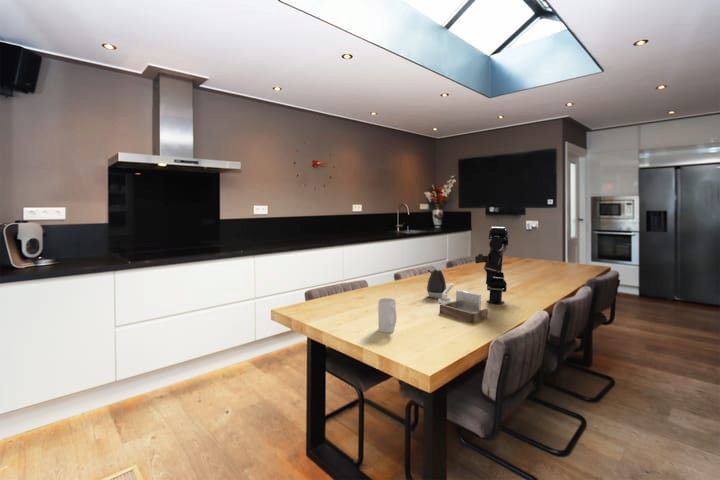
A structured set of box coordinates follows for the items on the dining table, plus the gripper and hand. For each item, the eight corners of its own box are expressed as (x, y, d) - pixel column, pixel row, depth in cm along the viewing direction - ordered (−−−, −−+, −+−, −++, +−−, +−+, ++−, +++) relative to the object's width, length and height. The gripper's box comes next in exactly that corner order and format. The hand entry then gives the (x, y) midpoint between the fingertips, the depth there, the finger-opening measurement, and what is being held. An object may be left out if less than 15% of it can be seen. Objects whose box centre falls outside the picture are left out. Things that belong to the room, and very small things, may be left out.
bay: (454, 309, 175) (454, 300, 175) (487, 318, 162) (487, 309, 161) (439, 313, 168) (439, 304, 168) (472, 323, 155) (473, 314, 154)
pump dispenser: (431, 293, 204) (432, 266, 202) (449, 296, 198) (450, 268, 196) (422, 297, 195) (423, 269, 194) (441, 300, 189) (442, 271, 188)
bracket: (457, 310, 173) (458, 289, 172) (480, 317, 163) (481, 295, 162) (446, 314, 167) (446, 292, 166) (468, 321, 158) (469, 298, 157)
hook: (464, 294, 182) (454, 287, 181) (449, 312, 185) (438, 305, 183) (459, 287, 190) (449, 280, 188) (444, 305, 192) (434, 298, 190)
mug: (374, 328, 147) (375, 299, 146) (389, 326, 150) (389, 297, 149) (387, 337, 138) (388, 305, 137) (402, 334, 141) (403, 303, 140)
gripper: (477, 249, 187) (469, 279, 187) (478, 246, 170) (469, 279, 169) (500, 255, 184) (492, 285, 184) (504, 253, 166) (494, 286, 166)
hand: (486, 284), depth 176 cm, fingers closed
